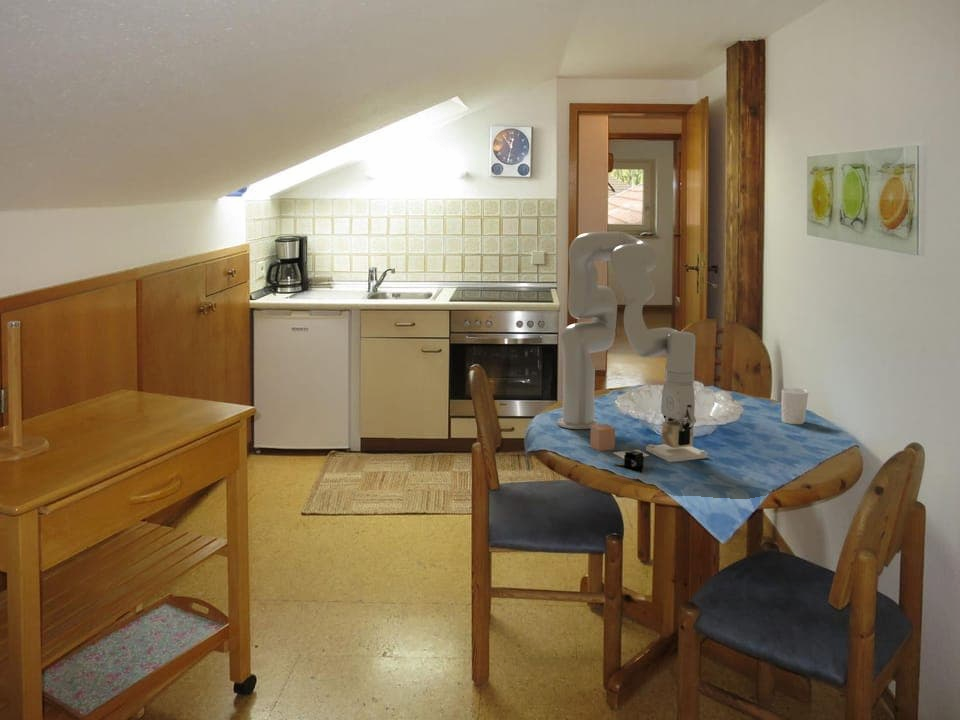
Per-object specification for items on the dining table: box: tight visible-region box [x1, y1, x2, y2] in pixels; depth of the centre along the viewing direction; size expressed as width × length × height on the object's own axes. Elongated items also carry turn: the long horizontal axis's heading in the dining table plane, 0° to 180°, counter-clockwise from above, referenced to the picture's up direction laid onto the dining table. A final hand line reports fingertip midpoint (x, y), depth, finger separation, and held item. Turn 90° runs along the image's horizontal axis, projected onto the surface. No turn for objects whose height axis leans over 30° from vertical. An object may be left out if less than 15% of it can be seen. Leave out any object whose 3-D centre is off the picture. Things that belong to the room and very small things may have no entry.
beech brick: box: [661, 420, 694, 448], centre depth 261 cm, size 6×6×6 cm
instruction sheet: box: [612, 449, 650, 460], centre depth 262 cm, size 6×8×1 cm
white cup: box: [780, 387, 809, 425], centre depth 297 cm, size 8×8×10 cm
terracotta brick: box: [589, 423, 616, 452], centre depth 268 cm, size 5×5×6 cm
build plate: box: [645, 443, 708, 463], centre depth 262 cm, size 12×12×2 cm
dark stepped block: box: [613, 449, 655, 474], centre depth 250 cm, size 12×7×5 cm, turn 44°
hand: (677, 440), depth 261 cm, fingers closed on beech brick, 6 cm apart
